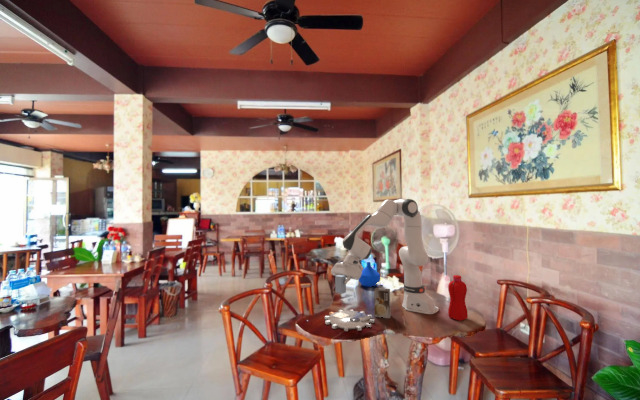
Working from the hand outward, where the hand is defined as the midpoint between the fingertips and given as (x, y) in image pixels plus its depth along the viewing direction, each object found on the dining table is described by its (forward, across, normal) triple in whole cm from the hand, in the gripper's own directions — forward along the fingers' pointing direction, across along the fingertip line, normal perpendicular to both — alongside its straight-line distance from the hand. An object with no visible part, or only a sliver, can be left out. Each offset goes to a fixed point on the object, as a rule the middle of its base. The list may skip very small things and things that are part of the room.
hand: (340, 282), depth 181 cm
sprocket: (+15, +6, +15) cm, 22 cm away
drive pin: (+4, 0, +4) cm, 6 cm away
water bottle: (-16, +52, +46) cm, 72 cm away
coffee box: (+2, +17, +29) cm, 33 cm away
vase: (-35, -26, +65) cm, 78 cm away
